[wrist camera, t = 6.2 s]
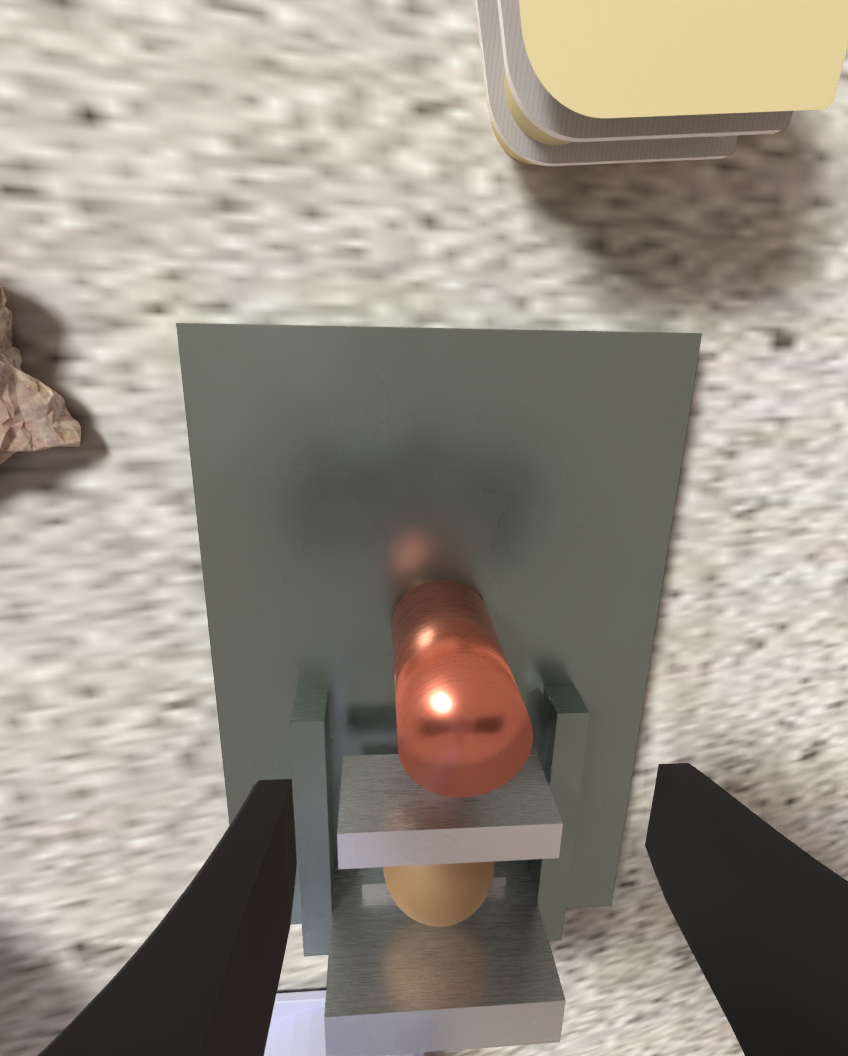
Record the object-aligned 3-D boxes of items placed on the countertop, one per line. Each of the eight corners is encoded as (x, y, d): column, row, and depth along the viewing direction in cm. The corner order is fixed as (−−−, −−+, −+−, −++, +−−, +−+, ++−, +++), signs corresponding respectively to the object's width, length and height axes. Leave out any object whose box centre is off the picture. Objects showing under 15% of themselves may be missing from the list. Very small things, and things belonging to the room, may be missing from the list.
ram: (524, 763, 20) (575, 913, 15) (345, 770, 20) (335, 928, 15) (540, 578, 18) (606, 680, 13) (340, 580, 18) (325, 687, 13)
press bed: (600, 878, 24) (668, 1046, 19) (247, 897, 23) (205, 1082, 18) (680, 332, 18) (824, 337, 12) (189, 323, 17) (93, 323, 11)
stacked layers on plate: (812, -127, 15) (1049, -373, 10) (721, 268, 18) (867, 244, 12) (405, -204, 14) (422, -526, 9) (377, 228, 17) (378, 184, 11)
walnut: (481, 853, 22) (501, 951, 19) (382, 859, 22) (383, 959, 18) (486, 773, 21) (508, 861, 17) (381, 777, 20) (383, 867, 17)
